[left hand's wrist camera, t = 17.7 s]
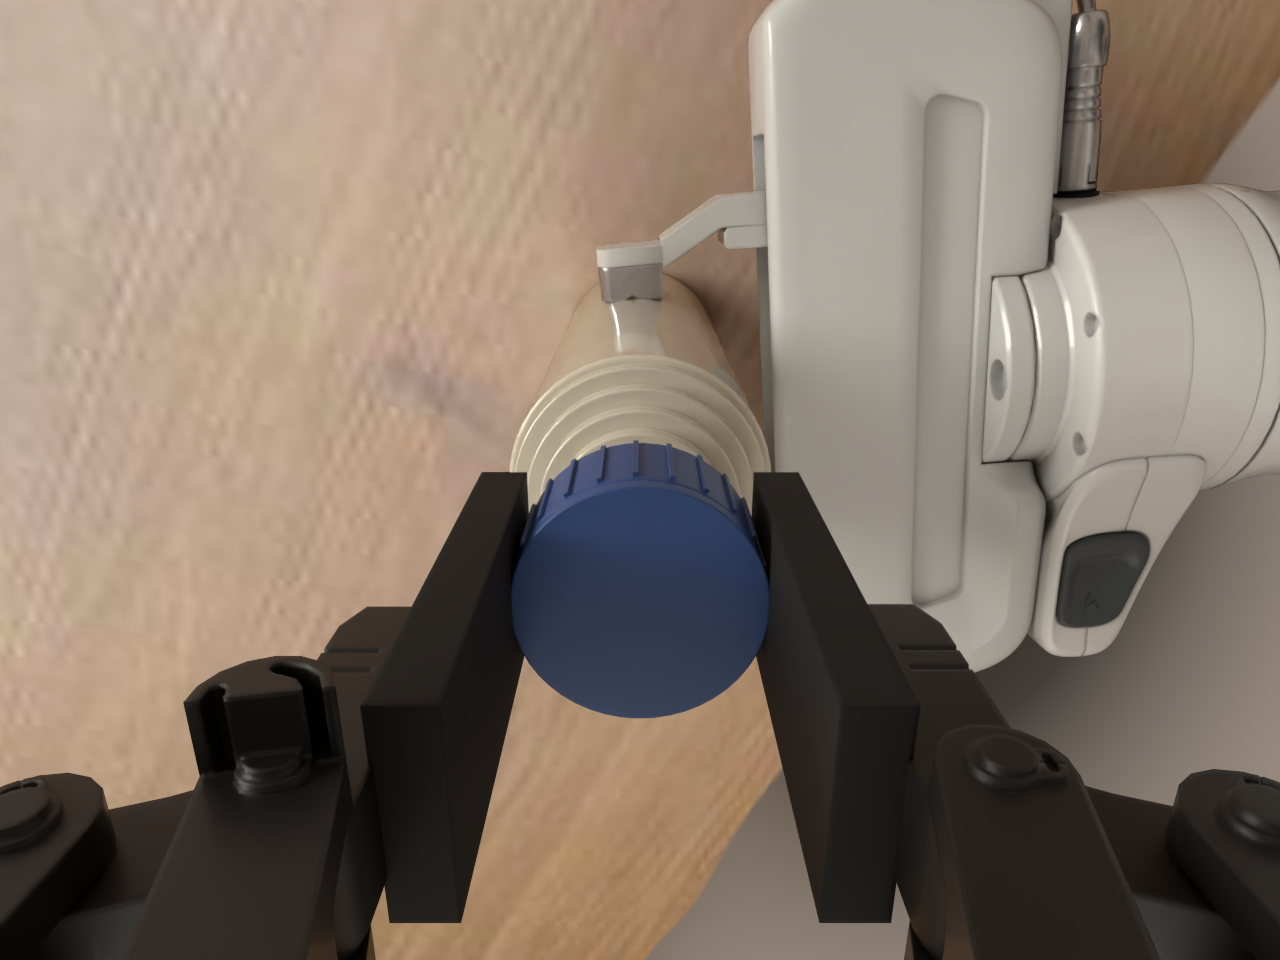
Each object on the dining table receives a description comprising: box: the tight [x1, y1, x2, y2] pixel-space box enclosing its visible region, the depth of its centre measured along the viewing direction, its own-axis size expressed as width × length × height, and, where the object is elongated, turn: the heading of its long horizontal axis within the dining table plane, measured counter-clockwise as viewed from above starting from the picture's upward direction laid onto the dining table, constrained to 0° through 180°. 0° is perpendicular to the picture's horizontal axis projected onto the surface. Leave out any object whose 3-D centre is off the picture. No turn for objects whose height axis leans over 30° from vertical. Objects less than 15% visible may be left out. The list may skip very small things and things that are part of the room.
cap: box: [511, 440, 769, 718], centre depth 13 cm, size 4×4×2 cm
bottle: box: [509, 274, 771, 515], centre depth 22 cm, size 5×5×20 cm
